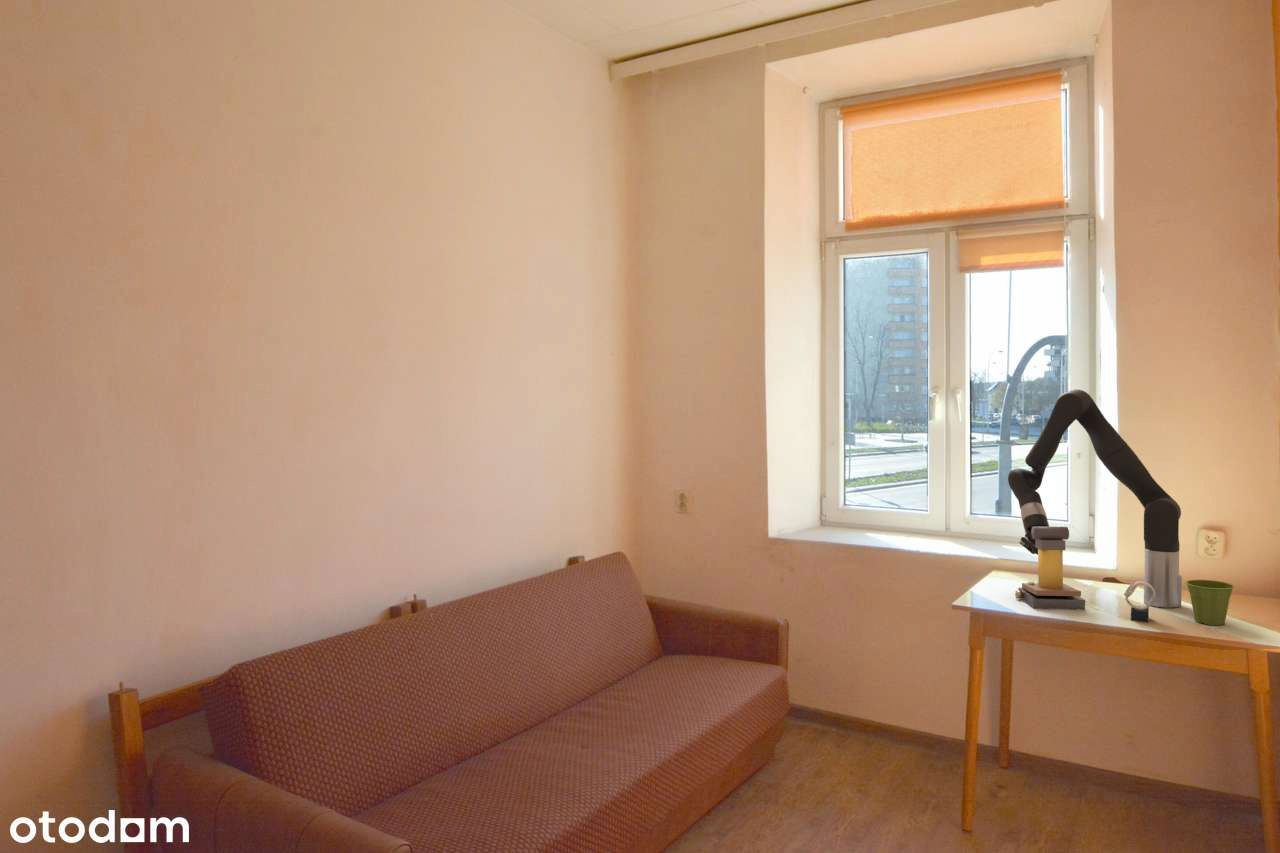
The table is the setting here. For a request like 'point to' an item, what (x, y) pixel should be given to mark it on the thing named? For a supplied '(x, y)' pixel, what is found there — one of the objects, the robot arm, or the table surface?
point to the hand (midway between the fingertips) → (1046, 564)
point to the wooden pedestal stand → (1050, 563)
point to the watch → (1137, 611)
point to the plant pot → (1210, 600)
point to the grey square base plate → (1050, 601)
